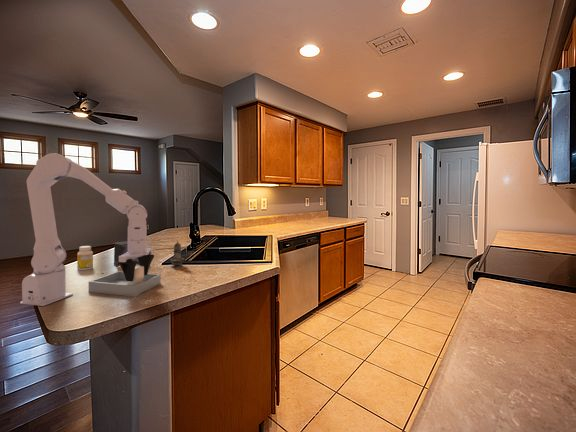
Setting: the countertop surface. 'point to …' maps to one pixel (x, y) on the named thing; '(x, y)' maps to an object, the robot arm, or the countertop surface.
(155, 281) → the tote
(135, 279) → the beige round piece
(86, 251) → the supplement bottle
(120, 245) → the small box
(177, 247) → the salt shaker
